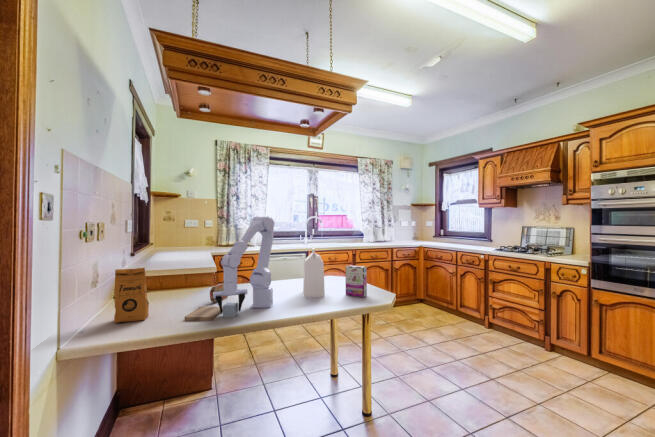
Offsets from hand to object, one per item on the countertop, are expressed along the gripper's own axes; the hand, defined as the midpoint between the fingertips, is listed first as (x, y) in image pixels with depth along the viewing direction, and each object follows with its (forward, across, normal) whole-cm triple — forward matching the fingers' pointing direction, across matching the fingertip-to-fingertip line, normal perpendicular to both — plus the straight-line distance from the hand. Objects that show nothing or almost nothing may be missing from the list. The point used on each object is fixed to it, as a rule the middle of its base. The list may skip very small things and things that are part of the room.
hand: (230, 311), depth 128 cm
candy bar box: (+2, -67, -6) cm, 68 cm away
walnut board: (+1, +10, -5) cm, 11 cm away
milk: (+2, -47, -18) cm, 50 cm away
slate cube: (+2, 0, 0) cm, 2 cm away
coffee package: (+2, +39, -11) cm, 40 cm away
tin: (+2, +3, -28) cm, 28 cm away
